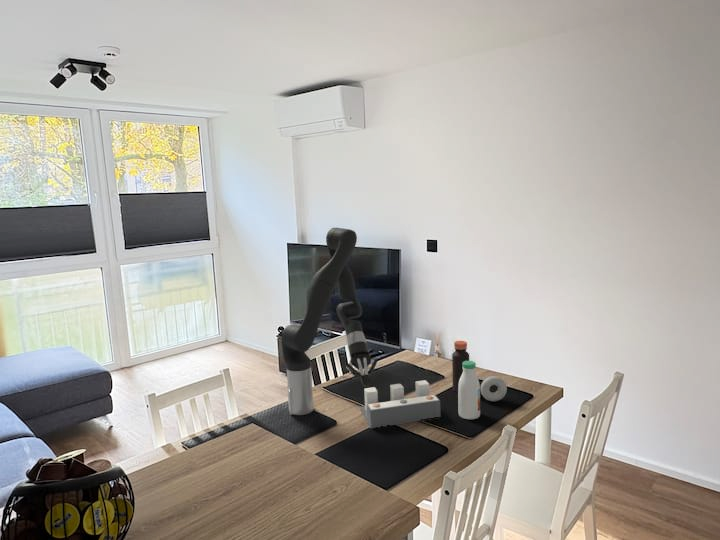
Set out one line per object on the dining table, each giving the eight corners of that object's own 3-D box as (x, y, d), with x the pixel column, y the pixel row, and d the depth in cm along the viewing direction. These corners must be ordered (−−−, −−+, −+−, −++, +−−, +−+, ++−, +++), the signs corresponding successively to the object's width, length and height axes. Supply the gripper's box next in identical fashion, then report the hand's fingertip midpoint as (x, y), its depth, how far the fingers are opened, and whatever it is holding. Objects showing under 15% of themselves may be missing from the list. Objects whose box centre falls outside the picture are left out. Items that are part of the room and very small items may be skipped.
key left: (367, 413, 180) (366, 392, 179) (365, 408, 184) (364, 388, 183) (378, 411, 181) (377, 391, 180) (375, 407, 185) (374, 387, 184)
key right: (419, 405, 185) (419, 385, 183) (415, 401, 188) (415, 381, 187) (429, 404, 185) (429, 383, 184) (425, 399, 189) (425, 380, 188)
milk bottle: (474, 422, 174) (474, 367, 171) (454, 416, 178) (454, 363, 175) (483, 413, 180) (483, 361, 177) (464, 408, 185) (463, 357, 181)
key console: (370, 428, 172) (370, 409, 171) (360, 410, 187) (360, 392, 186) (440, 417, 178) (440, 399, 177) (425, 400, 193) (425, 383, 192)
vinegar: (449, 387, 204) (449, 341, 201) (464, 385, 206) (463, 339, 203) (457, 394, 198) (457, 346, 194) (472, 391, 200) (472, 343, 196)
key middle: (394, 409, 182) (393, 388, 181) (390, 405, 186) (390, 384, 185) (404, 408, 183) (403, 387, 182) (400, 403, 187) (400, 383, 186)
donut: (505, 398, 192) (505, 374, 190) (507, 402, 188) (508, 377, 187) (479, 399, 192) (479, 375, 190) (481, 403, 188) (481, 378, 187)
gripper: (342, 342, 194) (350, 384, 185) (374, 338, 197) (384, 379, 188) (340, 351, 200) (348, 391, 191) (371, 347, 203) (381, 386, 194)
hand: (366, 385), depth 189 cm, fingers closed
